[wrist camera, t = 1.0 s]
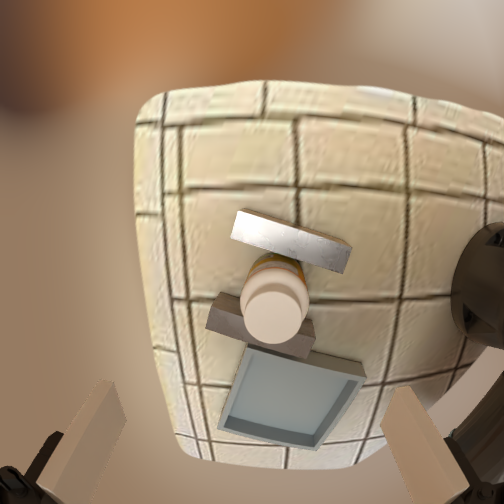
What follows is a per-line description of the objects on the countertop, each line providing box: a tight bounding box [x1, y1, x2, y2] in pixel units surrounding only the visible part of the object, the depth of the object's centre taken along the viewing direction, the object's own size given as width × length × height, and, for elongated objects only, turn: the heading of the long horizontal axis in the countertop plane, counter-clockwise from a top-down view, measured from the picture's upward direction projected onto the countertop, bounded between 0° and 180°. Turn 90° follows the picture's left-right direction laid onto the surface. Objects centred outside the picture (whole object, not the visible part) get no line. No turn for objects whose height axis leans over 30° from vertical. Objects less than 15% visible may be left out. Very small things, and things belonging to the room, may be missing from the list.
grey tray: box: [217, 342, 367, 451], centre depth 29 cm, size 13×13×3 cm
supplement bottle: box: [240, 253, 309, 344], centre depth 23 cm, size 5×5×10 cm
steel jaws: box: [205, 208, 352, 359], centre depth 26 cm, size 10×11×4 cm
